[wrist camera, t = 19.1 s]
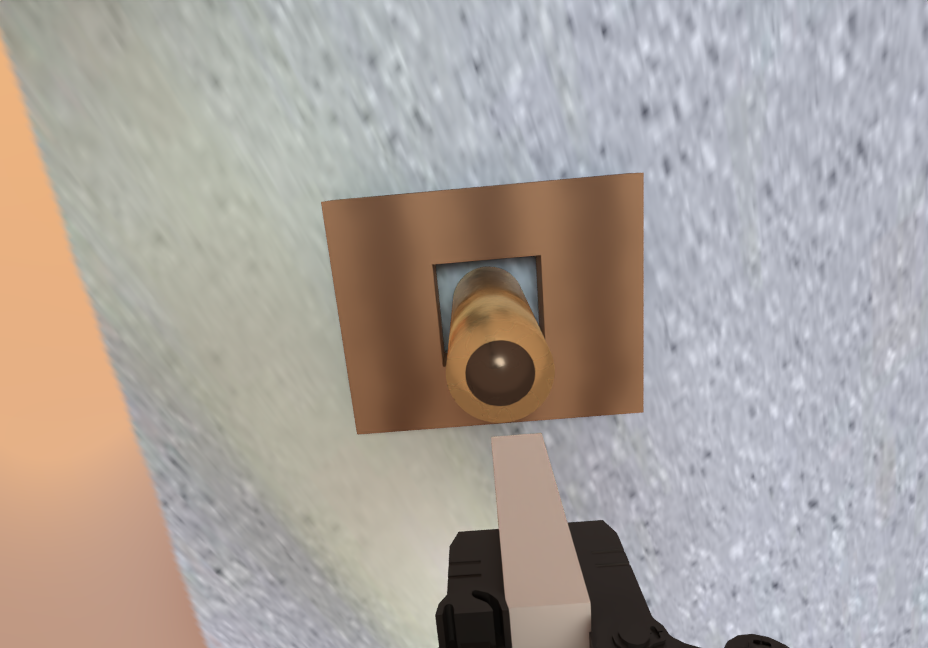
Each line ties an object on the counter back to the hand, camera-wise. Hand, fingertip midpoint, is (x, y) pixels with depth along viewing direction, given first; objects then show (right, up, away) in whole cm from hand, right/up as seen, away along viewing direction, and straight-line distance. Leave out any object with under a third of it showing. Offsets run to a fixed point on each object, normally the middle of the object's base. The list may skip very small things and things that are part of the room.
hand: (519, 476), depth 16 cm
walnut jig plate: (0, +6, +22) cm, 23 cm away
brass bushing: (0, +6, +22) cm, 23 cm away
